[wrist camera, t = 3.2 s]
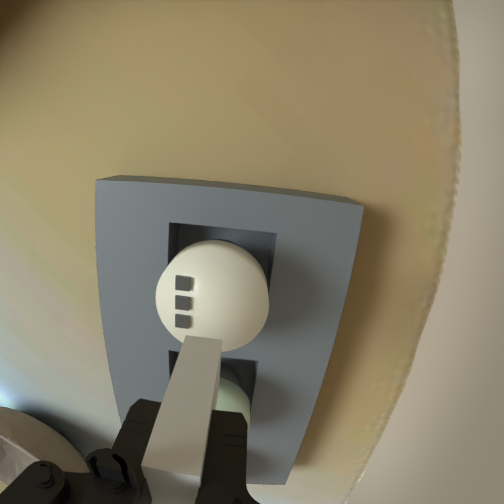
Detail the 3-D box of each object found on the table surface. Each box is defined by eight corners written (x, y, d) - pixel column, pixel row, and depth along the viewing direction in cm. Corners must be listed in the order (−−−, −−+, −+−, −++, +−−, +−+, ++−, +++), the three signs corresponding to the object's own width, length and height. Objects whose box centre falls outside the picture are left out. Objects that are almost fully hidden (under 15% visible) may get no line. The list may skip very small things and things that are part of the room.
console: (141, 443, 32) (133, 467, 28) (118, 175, 23) (95, 179, 19) (282, 460, 33) (285, 484, 29) (347, 197, 23) (364, 206, 20)
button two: (176, 402, 26) (165, 443, 21) (174, 348, 24) (159, 388, 19) (246, 411, 26) (245, 453, 21) (254, 357, 24) (254, 400, 19)
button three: (173, 308, 23) (156, 346, 18) (176, 224, 21) (154, 245, 16) (259, 318, 23) (261, 358, 18) (271, 234, 21) (276, 258, 16)
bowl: (154, 490, 37) (143, 539, 27) (47, 476, 39) (30, 510, 29) (56, 369, 29) (15, 426, 19) (-36, 375, 31) (-66, 407, 22)
